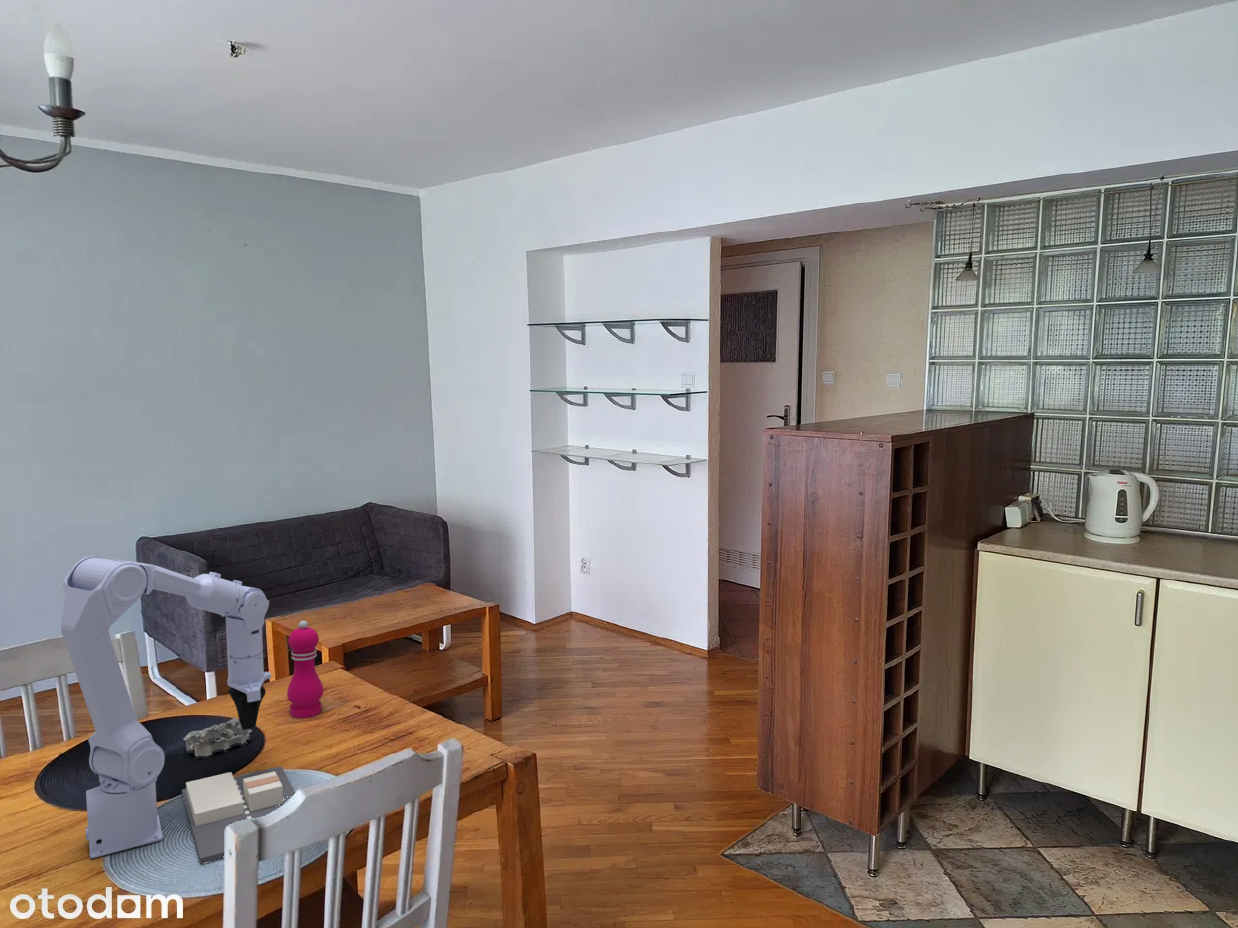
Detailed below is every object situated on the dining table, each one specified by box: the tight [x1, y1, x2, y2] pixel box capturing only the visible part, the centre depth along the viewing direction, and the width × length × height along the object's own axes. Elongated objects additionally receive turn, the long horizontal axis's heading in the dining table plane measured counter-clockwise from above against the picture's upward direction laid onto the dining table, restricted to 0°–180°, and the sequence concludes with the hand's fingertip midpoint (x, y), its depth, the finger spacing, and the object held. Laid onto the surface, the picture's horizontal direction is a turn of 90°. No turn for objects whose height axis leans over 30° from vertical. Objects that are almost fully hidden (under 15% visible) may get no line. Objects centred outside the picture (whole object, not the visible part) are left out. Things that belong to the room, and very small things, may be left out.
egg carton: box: [183, 717, 253, 757], centre depth 160 cm, size 11×8×4 cm
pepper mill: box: [286, 620, 324, 719], centre depth 175 cm, size 7×7×20 cm
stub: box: [243, 771, 283, 812], centre depth 138 cm, size 5×6×3 cm
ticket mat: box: [181, 765, 296, 865], centre depth 136 cm, size 16×24×3 cm, turn 33°
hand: (248, 727), depth 147 cm, fingers closed
